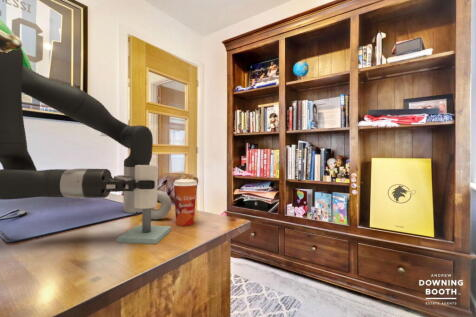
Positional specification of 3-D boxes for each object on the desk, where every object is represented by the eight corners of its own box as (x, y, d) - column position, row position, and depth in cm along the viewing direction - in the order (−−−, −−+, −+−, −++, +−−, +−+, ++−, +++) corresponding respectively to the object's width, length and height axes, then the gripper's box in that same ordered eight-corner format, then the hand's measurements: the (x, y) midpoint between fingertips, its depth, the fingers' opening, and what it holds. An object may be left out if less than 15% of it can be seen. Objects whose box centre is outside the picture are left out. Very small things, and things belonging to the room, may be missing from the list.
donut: (172, 217, 77) (172, 189, 77) (170, 220, 74) (170, 191, 74) (142, 218, 76) (142, 189, 76) (139, 221, 73) (139, 191, 72)
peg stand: (138, 229, 65) (138, 201, 65) (171, 230, 64) (171, 202, 64) (117, 242, 55) (117, 209, 55) (156, 244, 54) (156, 210, 54)
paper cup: (172, 228, 66) (173, 181, 66) (172, 220, 74) (173, 179, 74) (198, 226, 69) (199, 181, 68) (196, 219, 76) (197, 178, 76)
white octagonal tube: (137, 204, 62) (138, 164, 61) (158, 203, 63) (159, 165, 62) (132, 208, 56) (133, 165, 56) (154, 208, 57) (155, 166, 57)
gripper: (72, 170, 50) (151, 171, 53) (99, 167, 64) (161, 168, 67) (72, 203, 50) (151, 202, 53) (99, 193, 64) (160, 192, 67)
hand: (156, 183), depth 60 cm, fingers closed on white octagonal tube, 5 cm apart
